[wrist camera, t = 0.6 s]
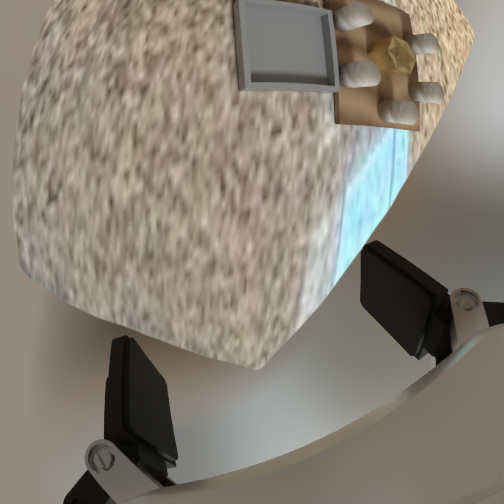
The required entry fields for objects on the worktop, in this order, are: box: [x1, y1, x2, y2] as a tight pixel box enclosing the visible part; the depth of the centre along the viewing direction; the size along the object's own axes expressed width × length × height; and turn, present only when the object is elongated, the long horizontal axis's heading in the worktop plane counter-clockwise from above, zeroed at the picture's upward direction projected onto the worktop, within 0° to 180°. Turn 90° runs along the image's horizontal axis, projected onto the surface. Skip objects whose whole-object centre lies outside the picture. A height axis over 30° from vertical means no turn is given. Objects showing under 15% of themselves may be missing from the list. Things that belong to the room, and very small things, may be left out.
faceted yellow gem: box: [367, 37, 416, 75], centre depth 31 cm, size 7×6×5 cm
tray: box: [233, 0, 340, 93], centre depth 29 cm, size 14×14×3 cm
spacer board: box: [324, 0, 444, 132], centre depth 31 cm, size 26×21×7 cm
